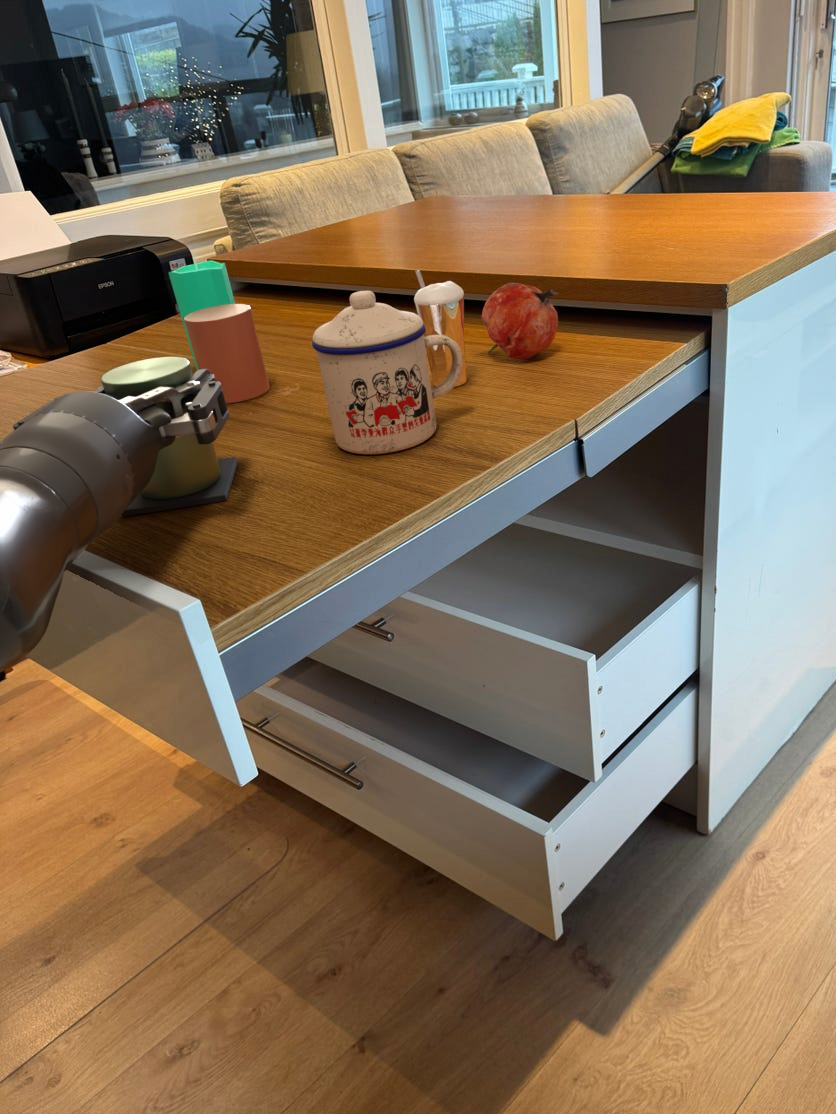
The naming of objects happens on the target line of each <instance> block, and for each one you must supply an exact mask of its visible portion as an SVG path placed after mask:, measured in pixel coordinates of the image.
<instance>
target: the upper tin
mask: <svg viewBox="0 0 836 1114" xmlns="http://www.w3.org/2000/svg"><path fill="white" fill-rule="evenodd" d="M193 374H194V373H193V370H192V367H191V364H190V361H189V360H188V358H185V357H180V356H161V357H152V358H147V359H142V360H137V361H133V362H129V363H126V364H123V365H121V366H118V367H115V368H113V369H111V370H109V371H107V372H105V373H104V374H103V375H102V376H101V377H100V383H101V385H103V388H104V391H105V394H106V395H108V396H110V397H113V398H115V399H117V400H121V399H123V398H125V397H128V396H132V397H137V396H140V395H142V394H144V393H147V392H149V391H151V390H154V389H156V388H158V387H171V388H176V387H179V386H181V385H183V384H184V383H185V382H186V381H187V380H188V379H189V378H190V377H191V376H192V375H193ZM186 403H188V402H187V399H186V397H184V398H182V399H181V405H182V408H183V412H184V414H185V413H187V409H186V406H185V404H186ZM155 404H156V405H158V406H159V407H160V408H161V409H163V407H162V404H161V401H159V402H157V403H155ZM218 460H219V458H218V456H217V453H216V449H215V446H214V442H212V443H210V444H199V443H198V441H197V438H195V436H194V434H188V435H184V436H182V437H180V438H178V439H176V440H175V441H174V442H173V443H172V444H171V445H169V446H167V447H165V448H163V449H161V450H160V451H159V453H158V457H157V461H156V466H155V470H154V473H153V476H152V478H151V480H150V481H149V483H148V484H147V486H146V487H145V488H144V489H143V490H142V491H141V492H140V494H141V495H142V496H144V497H146V498H149V499H156V500H164V499H174V498H180V497H184V496H188V495H192V494H195V493H197V492H200V491H202V490H205V489H207V488H209V487H210V486H212V485H214V484H215V483H216V482H217V481H218V480H219V479H220V477H221V470H220V466H219V463H218Z"/></svg>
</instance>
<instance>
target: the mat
mask: <svg viewBox="0 0 836 1114" xmlns="http://www.w3.org/2000/svg"><path fill="white" fill-rule="evenodd" d="M218 463H219V466H220V470H221V477H220V479H219V480H218V481H217V482H216V483H215V484H214V485H212V486H210V487H209V488H207V489H205V490H202V491H200V492H197V493H195V494H192V495H188V496H184V497H180V498H174V499H164V500H156V499H149V498H146V497H144V496H142V495H141V494H139V495H138V496H137V497H136V498H135V499H134V500H133V502H132V503H131V504H130V505H129V506H128V507H127V509H126V510H125V511H124V512H123V513H122V514H121V515H120V517H122V518H125V517H131V516H137V515H144V514H149V513H157V512H161V511H168V510H169V511H171V510H175V509H181V508H182V509H183V508H187V507H188V508H189V507H195V506H201V505H207V504H213V503H220V502H225V501H226V502H227V500H228V498H229V494H230V490H231V487H232V484H233V480H234V476H235V473H236V469H237V465H238V463H239V462H238V458H237V456H232V457H226V458H225V457H224V458H220V459H219V458H218Z"/></svg>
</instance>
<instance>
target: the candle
mask: <svg viewBox="0 0 836 1114" xmlns="http://www.w3.org/2000/svg"><path fill="white" fill-rule="evenodd" d="M191 255H192V258H193V262H194V263H192V264H189V265H184V266H181V267H179V268H177V269H175V270H171V271H168V277H169V280H170V283H171V287H172V290H173V294H174V297H175V300H176V304H177V308H178V310H179V315H180V317H181V322H182V324H183V325H182V326H183V328H184V332H185V335H186V338H187V339H186V340H187V342H188V345H189V349H190V352H191V355H192V360H193V363H194V366H195V369H196V371H197V370H199V369H198V366H197V362H196V359H195V355H194V352H193V348H192V345H191V341H190V338H189V335H188V331H187V328H186V324H185V321H184V318H185V316H187V315H188V314H190V313H193V312H195V311H198V310H201V309H205V308H209V307H214V306H220V305H228V304H236V301H235V298H234V293H233V289H232V286H231V282H230V279H229V274H228V270H227V266H226V263H225V262H219V261H215V260H206V261H202V262H197V261H196V257H195V254H194V251H191Z"/></svg>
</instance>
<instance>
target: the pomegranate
mask: <svg viewBox="0 0 836 1114" xmlns="http://www.w3.org/2000/svg"><path fill="white" fill-rule="evenodd" d="M558 295H559V292H556V291H555V290H553V289H547V291H544V292H542V290H540V289H539V288H538V287H536V286H533V285H532V284H529V285H525V284H522V283H519V282H508V283H506V284H504V285H502V286H499V287H497V288H496V290H494V291H493V292H492V293H491V294H490V296H489V297H488V299H487V300H486V302H485V303H484V306H483V308H482V313H481V320H482V322H483V324H484V325H485V327H486V328H487V334H488V337H489V338H490V339H491V341H493V343H495V344H494V345H493V346H492V347H491V348H490V349H489V350H488V351H487V354H488V355H490V354H491V353H492V352H493V351H494V350H495V349H496V348H498V347H499V348H501V350H503V351H504V352H505V353H506V355H507V356H508V357H509V358H512V359H514V360H528V359H530V358H533V357H534V356H536V355H537V354H538V353H540V352H542V351H544V350H546V349H547V348H548V347H549V346H550V345H551V344H552V342H553V341H554V340H555V338H556V335H557V333H558V327H559V316H558V315H559V314H558V311H557V310H556V309H555V307H554V305H553V304H552V303H550V297H552V296H553V297H554V296H558Z"/></svg>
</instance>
